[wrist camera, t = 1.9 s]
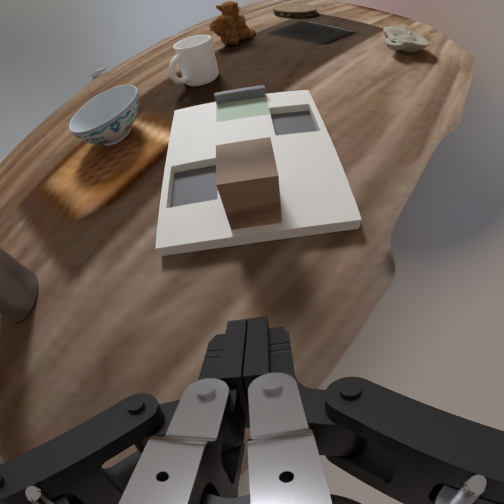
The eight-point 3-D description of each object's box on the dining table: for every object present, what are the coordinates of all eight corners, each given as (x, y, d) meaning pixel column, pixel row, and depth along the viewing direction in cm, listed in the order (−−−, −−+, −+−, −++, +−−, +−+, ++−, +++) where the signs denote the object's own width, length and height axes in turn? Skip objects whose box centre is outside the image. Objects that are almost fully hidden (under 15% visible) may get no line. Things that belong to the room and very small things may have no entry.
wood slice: (324, 17, 79) (324, 10, 77) (284, 20, 78) (284, 13, 76) (304, 8, 87) (303, 2, 84) (267, 12, 86) (267, 6, 84)
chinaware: (164, 118, 52) (152, 87, 46) (110, 168, 47) (90, 138, 41) (123, 109, 58) (110, 83, 51) (75, 152, 53) (58, 127, 46)
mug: (188, 98, 55) (175, 57, 46) (165, 92, 58) (152, 55, 49) (226, 73, 59) (218, 35, 50) (202, 68, 62) (193, 34, 53)
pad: (271, 123, 47) (270, 114, 45) (218, 131, 48) (216, 122, 46) (266, 102, 51) (265, 94, 49) (218, 110, 51) (216, 101, 49)
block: (282, 222, 35) (278, 175, 28) (231, 229, 35) (216, 185, 28) (275, 184, 38) (270, 137, 31) (228, 191, 38) (215, 145, 31)
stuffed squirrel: (257, 33, 72) (251, -3, 61) (243, 48, 66) (236, 7, 55) (226, 34, 75) (219, -1, 63) (209, 50, 69) (200, 11, 57)
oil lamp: (414, 67, 56) (417, 52, 51) (365, 49, 62) (367, 34, 57) (431, 52, 62) (434, 39, 58) (390, 36, 68) (392, 23, 63)
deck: (358, 228, 35) (364, 209, 32) (161, 256, 37) (148, 240, 33) (308, 98, 50) (307, 81, 47) (177, 118, 52) (171, 102, 48)
